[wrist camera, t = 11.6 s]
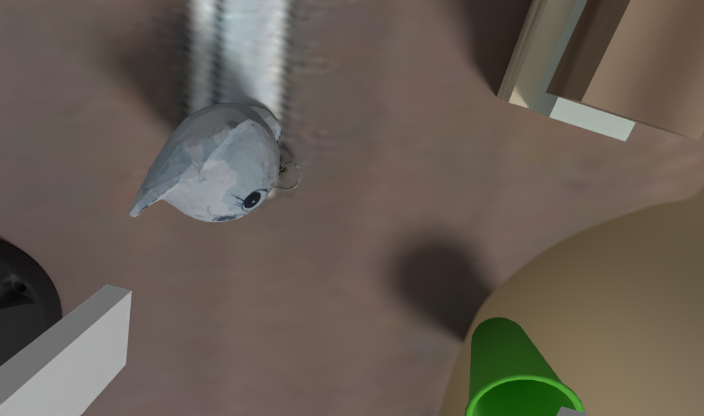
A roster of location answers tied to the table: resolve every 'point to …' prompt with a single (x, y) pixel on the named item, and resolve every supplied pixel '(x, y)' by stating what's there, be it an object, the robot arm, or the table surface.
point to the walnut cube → (638, 63)
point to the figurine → (217, 164)
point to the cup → (513, 375)
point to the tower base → (534, 50)
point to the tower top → (572, 110)
